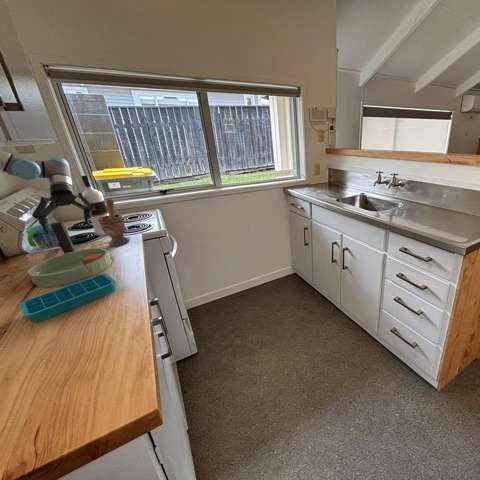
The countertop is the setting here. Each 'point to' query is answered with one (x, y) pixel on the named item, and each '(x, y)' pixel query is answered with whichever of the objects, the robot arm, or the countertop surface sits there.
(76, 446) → the countertop surface
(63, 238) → the dark grey bar
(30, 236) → the green blue printed package
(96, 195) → the vodka
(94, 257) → the block
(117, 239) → the mortar and pestle
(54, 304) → the ice cube tray
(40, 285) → the bowl
